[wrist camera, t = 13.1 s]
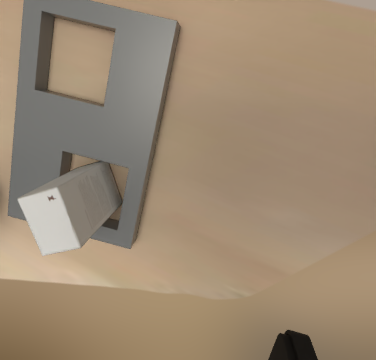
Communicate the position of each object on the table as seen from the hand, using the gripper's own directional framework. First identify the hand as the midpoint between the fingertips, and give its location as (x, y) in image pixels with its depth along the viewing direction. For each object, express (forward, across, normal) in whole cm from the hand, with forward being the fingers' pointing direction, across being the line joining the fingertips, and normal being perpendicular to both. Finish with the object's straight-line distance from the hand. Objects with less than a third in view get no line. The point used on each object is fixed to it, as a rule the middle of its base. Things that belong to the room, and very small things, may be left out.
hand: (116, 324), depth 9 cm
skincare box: (+28, +11, +7) cm, 31 cm away
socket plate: (+28, +13, 0) cm, 31 cm away
